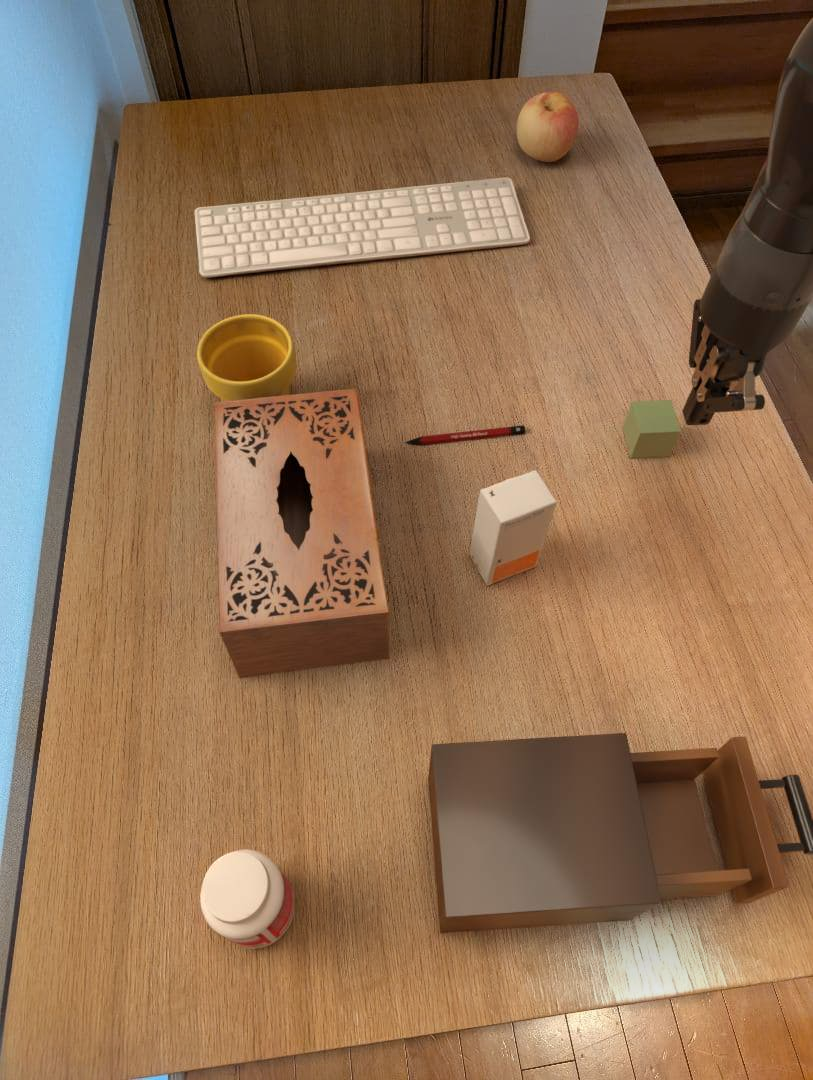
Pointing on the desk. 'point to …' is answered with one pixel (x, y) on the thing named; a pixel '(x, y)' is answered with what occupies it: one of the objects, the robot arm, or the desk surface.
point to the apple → (547, 126)
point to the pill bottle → (247, 899)
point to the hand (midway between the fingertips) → (694, 418)
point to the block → (651, 429)
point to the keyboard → (358, 227)
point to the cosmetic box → (511, 526)
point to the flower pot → (247, 358)
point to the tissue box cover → (297, 535)
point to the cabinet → (538, 833)
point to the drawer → (738, 818)
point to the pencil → (468, 435)
